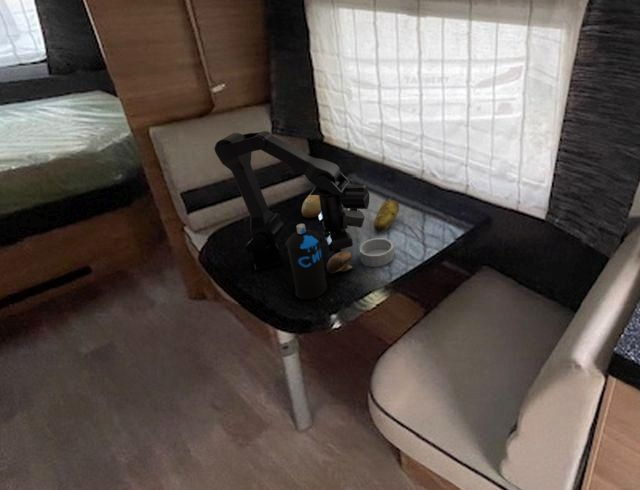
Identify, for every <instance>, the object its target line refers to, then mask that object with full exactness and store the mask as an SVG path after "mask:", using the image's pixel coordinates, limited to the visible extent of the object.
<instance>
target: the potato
mask: <svg viewBox="0 0 640 490" xmlns="http://www.w3.org/2000/svg"><path fill="white" fill-rule="evenodd" d="M399 211H400V204H399V203H398V202H397V201H396V200H392V199H390V200H385V201H384V202H383V203H382V204H381V205H380V207H379V209H378V211H377V214H376V216H375V218H374V221H373V227H374V230H375V231H376V232H377V233H384V232H386V231H387V230H388V229H389V227H390V226H391V225H392V224H393V223H394V221H395V219H396V218H397V216H398V214H399Z"/></svg>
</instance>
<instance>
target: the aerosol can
mask: <svg viewBox="0 0 640 490" xmlns="http://www.w3.org/2000/svg"><path fill="white" fill-rule="evenodd" d="M320 240H321V235H320V234H319V233H317V232H315V231H313V230H310V229H306V225H305V223H299V224H297V225H296V231H295V232H293V233H292V234H290V236H289V237H288V238H287V239H286V240H285V246H286V248H287V251H288V256H289V257H288V258H289V262H290V268H291V272H292V278H293V282H294V287H295V291H294V294H295V296H296V297H297V299H301V300H312V299H316V298H318V297H321V296H322V295H323V294H324V293H325V292H326V291H327V289H328V283H327V280H326V273H325V268H324V260H323V254H322V248H321V242H320Z"/></svg>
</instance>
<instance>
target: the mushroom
mask: <svg viewBox="0 0 640 490" xmlns="http://www.w3.org/2000/svg"><path fill="white" fill-rule="evenodd" d="M352 260H353V254H352V253H351V252H350V251H346V250H341V252H338V253H334V254H333V255H332V256H331V257H330V258H329V260H328V261H327V263H326V270H327V272H328V273H329V274H331V275H333V274H335V273H338V272H342V273H344V272H346V271H350V270H352V269H353V268H354V266H352V265H351V264H350V263H349V262H351V261H352Z"/></svg>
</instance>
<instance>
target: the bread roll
mask: <svg viewBox="0 0 640 490" xmlns="http://www.w3.org/2000/svg"><path fill="white" fill-rule="evenodd" d="M320 209H321V206H320V200H319V195H311V194H309V195H308V196H307V197H306V198H305V199H304V201H303V202H302V206H301V214H302V216H303V217H304V218H308V219H311V218H316V217H318V216H319V214H320V213H321V211H320Z"/></svg>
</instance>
